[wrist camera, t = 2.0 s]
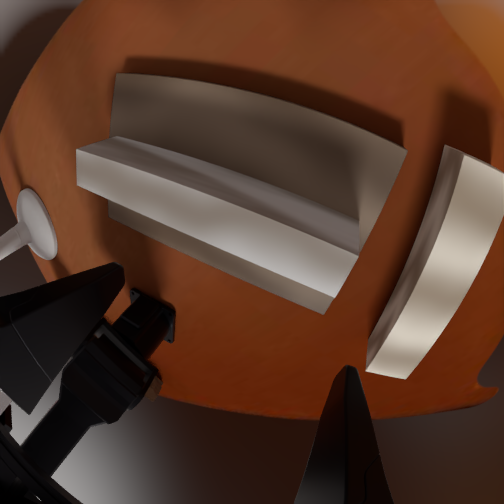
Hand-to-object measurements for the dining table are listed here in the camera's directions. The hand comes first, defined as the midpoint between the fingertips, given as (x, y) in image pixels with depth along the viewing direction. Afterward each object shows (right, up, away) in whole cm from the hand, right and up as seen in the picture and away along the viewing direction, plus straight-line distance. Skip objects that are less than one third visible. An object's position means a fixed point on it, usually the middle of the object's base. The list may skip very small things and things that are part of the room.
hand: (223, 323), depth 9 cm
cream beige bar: (+15, +2, +9) cm, 17 cm away
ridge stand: (-1, +8, +11) cm, 14 cm away
